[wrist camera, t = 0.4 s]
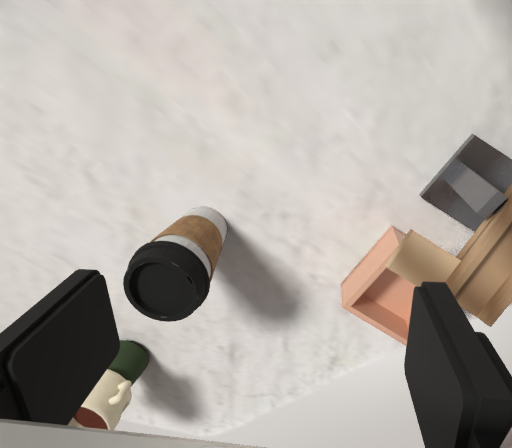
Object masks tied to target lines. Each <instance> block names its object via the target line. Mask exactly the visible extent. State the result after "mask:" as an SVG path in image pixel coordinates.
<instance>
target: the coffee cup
mask: <svg viewBox="0 0 512 448" xmlns="http://www.w3.org/2000/svg"><path fill="white" fill-rule="evenodd" d="M226 234H227V226H226V222H225V220H224V218H223V217H222V216H221V214H220V213H218V212H217V211H216V210H214V209H212V208H209V207H203V206H201V207H196V208H193V209H191V210H190V211H188V212H187V213H186V214H185V215H184V216H183V217H181V218H180V219H179V220H177V221H176V222H175V223H173V224H172V225H171V226H169V227H168V228H167V229H166V230H164V231H163V232H162V233H160V234H159V235H158V236H157V237H155V238H154V239H153V240H152V241H151V242H150V243H147V244H145V245H143V246H142V247H140V248H139V249H138V250H137V251H136V252H135V254H134V256H133V257H132V259H131V260H130V262H129V265H128V269H127V271H126V273H125V276H124V283H123V285H124V291H125V294H126V296H127V298H128V300H129V301H130V303H131V304H132V305H133V306H134V307H135V308H136V309H137V310H138V311H139V312H140V313H142V314H144V315H145V316H147V317H150V318H152V319H155V320H159V321H177V320H182V319H184V318H186V317H188V316H189V315H191V314H192V313H193V312H194V310H196V309H197V308H198V307H199V306H201V304H202V303H203V302H204V300H205V299H206V297H207V295H208V293H209V288H210V282H211V279H212V276H213V273H214V270H215V267H216V264H217V261H218V258H219V255H220V252H221V249H222V245H223V243H224V240H225V237H226Z"/></svg>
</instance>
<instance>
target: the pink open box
mask: <svg viewBox="0 0 512 448" xmlns="http://www.w3.org/2000/svg"><path fill="white" fill-rule="evenodd" d="M405 237H406V234H405V233H403V232H402V231H400V230H398V229H397V228H395V227H394V226H391V227H390V228H389V229H388V230H387V231H386V232H385V234H384V235H383V236H382V237H381V238H380V239H379V241H378V242H377V243H376V244H375V245H374V246H373V247H372V249H371V250H370V251H369V252H368V253H367V254H366V256H365V257H364V258H363V259H362V260H361V261H360V263H359V264H358V265H357V266H356V267H355V268H354V269H353V271H352V272H351V273H350V274H349V275H348V276H347V278H346V279H345V280H344V281H343V282H342V283H341V296H342V308H344V309H346V310H347V311H349V312H351V313H352V314H354V315H356V316H357V317H359V318H361V319H362V320H364V321H366V322H367V323H369V324H371V325H372V326H374V327H376V328H377V329H379V330H381V331H382V332H384V333H386V334H387V335H389V336H391V337H392V338H394V339H396V340H397V341H399V342H401V343H402V344H404V345H406V346H407V339H408V331H409V323H410V315H411V307H412V299H413V291H414V287H415V286H416V285H414V284H412V283H411V282H409V281H407V280H406V279H404V278H403V277H401V276H399V275H398V274H396V273H394V272H393V271H391V270H390V269H388V268H387V267H386V266H385V264H386V263H387V262H388V260H389V259H390V257H391V256H392V255H393V253H394V252H395V250H396V249H397V248H398V246H399V245H400V243H401V242H402V241H403V239H404V238H405Z"/></svg>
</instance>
